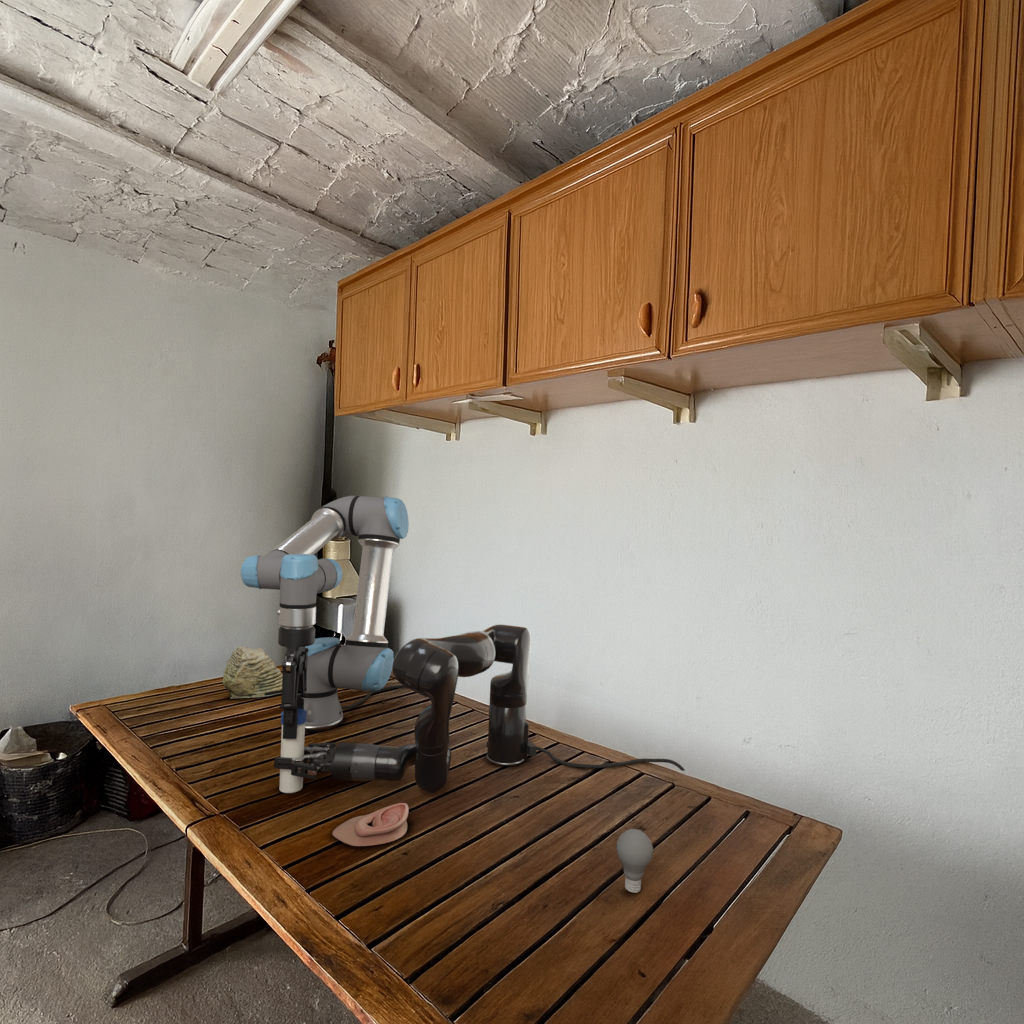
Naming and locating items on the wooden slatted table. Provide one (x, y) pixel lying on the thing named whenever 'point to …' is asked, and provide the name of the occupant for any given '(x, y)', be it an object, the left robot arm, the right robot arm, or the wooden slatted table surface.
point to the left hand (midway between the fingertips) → (293, 732)
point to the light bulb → (634, 857)
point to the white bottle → (292, 750)
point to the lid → (300, 717)
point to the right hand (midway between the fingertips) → (280, 757)
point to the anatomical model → (374, 826)
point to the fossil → (251, 674)
